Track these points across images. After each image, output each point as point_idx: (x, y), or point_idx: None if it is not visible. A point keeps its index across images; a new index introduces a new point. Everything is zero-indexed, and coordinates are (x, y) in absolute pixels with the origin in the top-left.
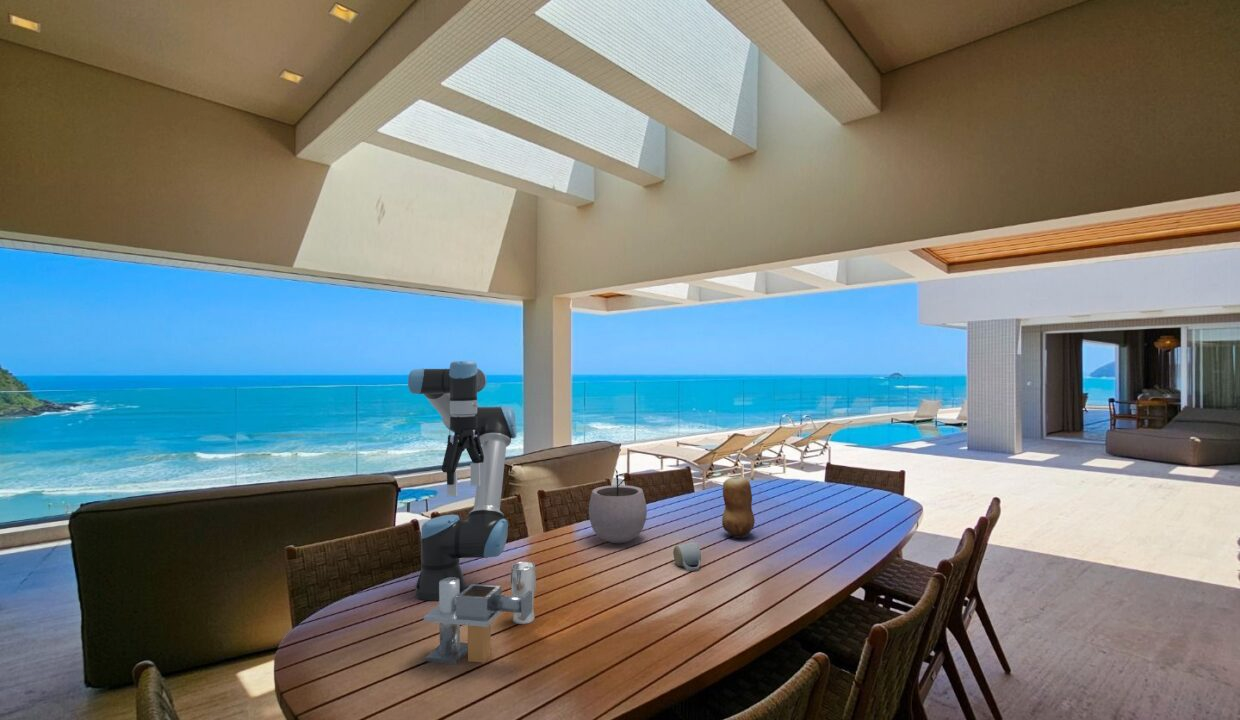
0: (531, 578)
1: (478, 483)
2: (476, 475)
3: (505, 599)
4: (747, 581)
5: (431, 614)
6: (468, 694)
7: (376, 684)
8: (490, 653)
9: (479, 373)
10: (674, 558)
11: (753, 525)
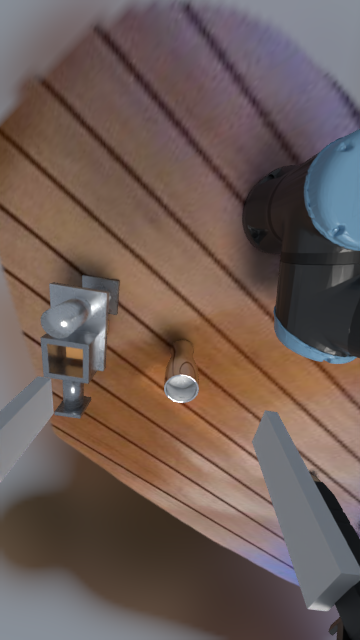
0: (171, 390)
1: (256, 449)
2: (275, 484)
3: (63, 390)
4: (253, 510)
5: (56, 292)
6: (42, 332)
7: (34, 239)
8: (107, 334)
9: None
10: (314, 477)
11: None
